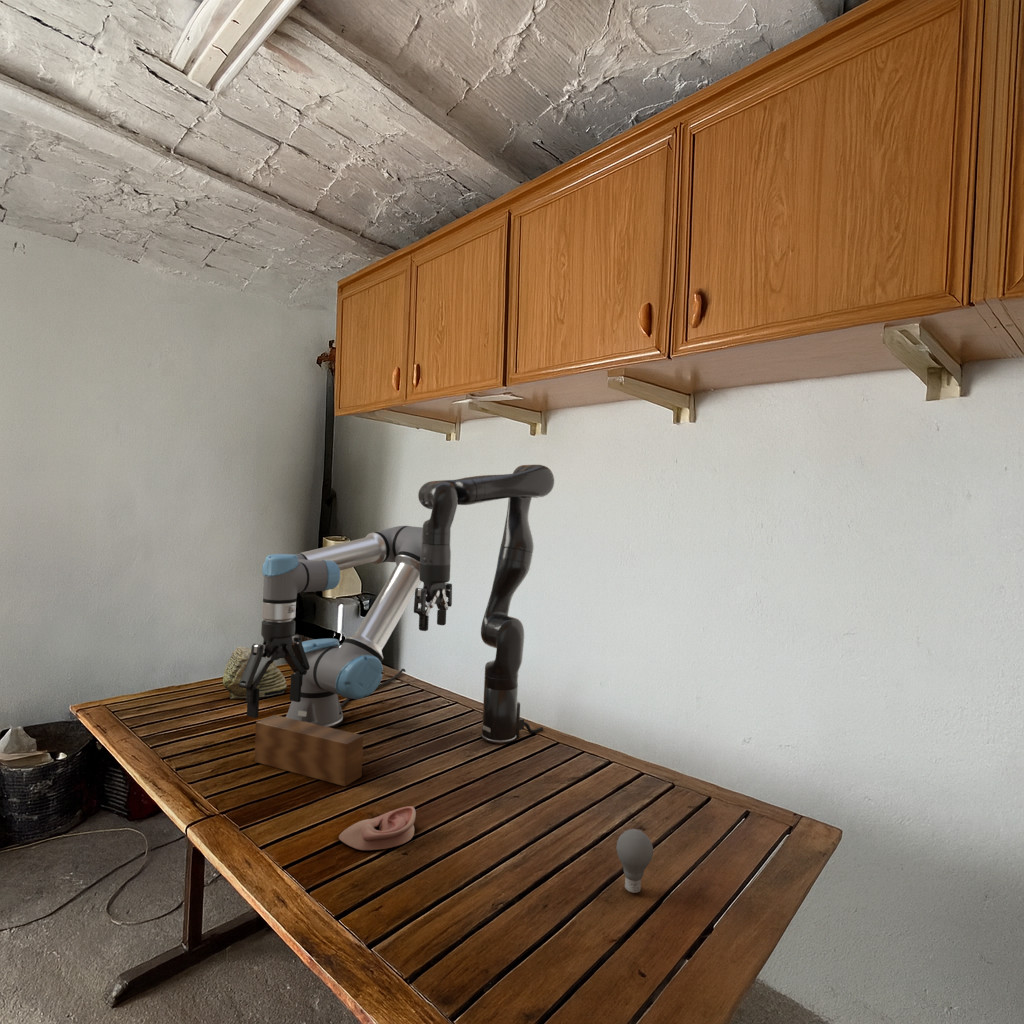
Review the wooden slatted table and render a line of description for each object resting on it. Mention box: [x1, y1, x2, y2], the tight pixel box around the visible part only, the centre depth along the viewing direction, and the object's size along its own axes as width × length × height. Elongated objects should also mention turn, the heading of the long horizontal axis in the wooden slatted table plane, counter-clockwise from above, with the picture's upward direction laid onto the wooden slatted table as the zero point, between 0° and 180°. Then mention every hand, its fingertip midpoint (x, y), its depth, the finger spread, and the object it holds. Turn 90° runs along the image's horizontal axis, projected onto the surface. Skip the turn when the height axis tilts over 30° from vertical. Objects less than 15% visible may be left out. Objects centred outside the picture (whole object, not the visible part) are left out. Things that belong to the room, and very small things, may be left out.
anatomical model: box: [338, 805, 417, 851], centre depth 119 cm, size 13×4×12 cm
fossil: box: [222, 646, 288, 699], centre depth 198 cm, size 9×18×15 cm, turn 132°
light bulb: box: [615, 828, 654, 894], centre depth 106 cm, size 6×6×10 cm
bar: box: [254, 714, 364, 787], centre depth 147 cm, size 26×6×10 cm, turn 66°
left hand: (274, 708), depth 151 cm, fingers open, 13 cm apart
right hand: (432, 627), depth 156 cm, fingers open, 8 cm apart
